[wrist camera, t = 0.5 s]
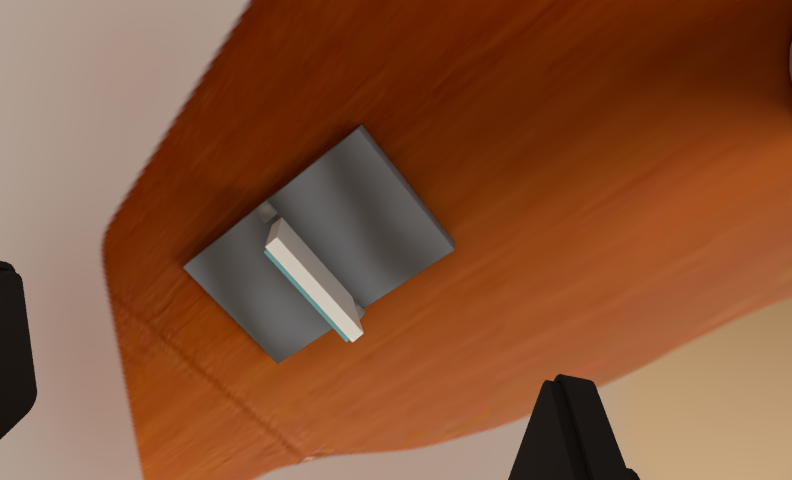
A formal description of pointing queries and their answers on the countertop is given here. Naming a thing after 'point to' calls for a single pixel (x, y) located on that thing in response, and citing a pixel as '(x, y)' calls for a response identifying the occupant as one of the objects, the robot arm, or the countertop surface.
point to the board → (323, 244)
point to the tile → (313, 280)
